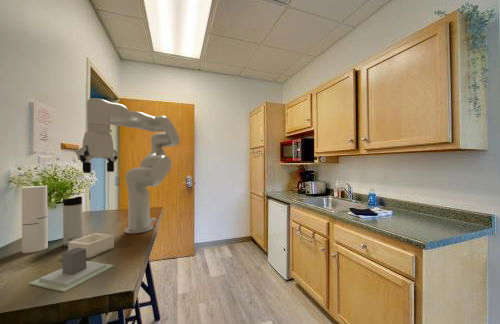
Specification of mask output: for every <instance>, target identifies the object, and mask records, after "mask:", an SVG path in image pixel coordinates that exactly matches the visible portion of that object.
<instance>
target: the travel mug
mask: <svg viewBox="0 0 500 324" xmlns="http://www.w3.org/2000/svg"><path fill="white" fill-rule="evenodd" d="M62 203H63V204H62V214H63V215H62V228H63V229H62V232H63V233H62V234H63V235H62V237H63V238H62V239H63V243H62V244H63V246H64V247H68V242H70V241H73V240H76V239H79V238H82V237H84V236H83V233H84V228H83V227H84V226H83V225H84V223H83V197H82V196H75V197H71V198H65V199H63V200H62Z"/></svg>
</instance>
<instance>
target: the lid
mask: <svg viewBox="0 0 500 324" xmlns="http://www.w3.org/2000/svg"><path fill="white" fill-rule="evenodd" d="M61 261H62V264H61V265H62V267H61V268H60V269H57V270H55V271H52V272H49V273H48V274H45V275H43V276H40V277H39V279H40V281H44V282H49V283H53V284H57V285H62V286H66V287H67V286H69V285H71V284H73V283H75V282H77V281H79V280H81V279H83V278H85V277H87V276H89V275H91V274H93V273H95V272H97V271H99V270H101V269H103V268H105V267H106V264H107V263H103V264H100V263H101V262H97V263H94V262H95V261H90V262H88V260H87V259H86V249H83V248H74V249H72V250H69V251H68V250H67V251H63V252H62V253H61Z"/></svg>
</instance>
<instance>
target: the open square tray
mask: <svg viewBox="0 0 500 324" xmlns="http://www.w3.org/2000/svg"><path fill="white" fill-rule="evenodd" d="M67 247H68V248H67V251H69V250H72V249H74V248H83V249H86V260H90V259H91V258H94V257H95V256H98V255H100V254H102V253H105V252H107V251H110V250H112V249H114V248H115V236H114V234H109V233H107V234H106V233H99V232H98V233H97V232H95V233H91V234H89V235H85V236H83V237H82V238H79V239H76V240H73V241H70V242H68V246H67Z"/></svg>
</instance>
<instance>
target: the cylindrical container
mask: <svg viewBox="0 0 500 324" xmlns="http://www.w3.org/2000/svg"><path fill="white" fill-rule="evenodd" d="M48 210H49V209H48V185H33V186H32V185H31V186H22V187H21V252H22V253H23V254H30V253H37V252H40V251H43V250H46V249H47V248H48V247H49V240H48V239H49V236H48V235H49V234H48V233H49V230H48V229H49V228H48V227H49V225H48V219H49V218H48V215H49V213H48Z"/></svg>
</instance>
